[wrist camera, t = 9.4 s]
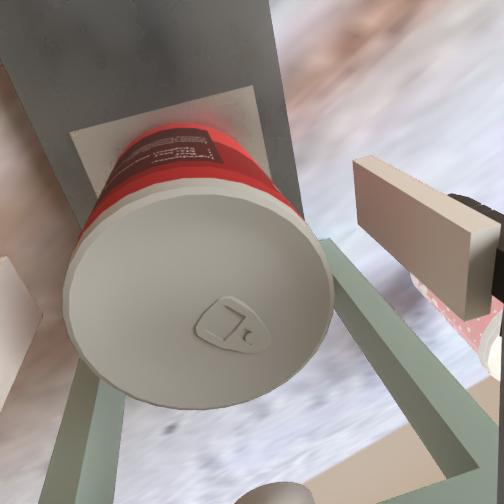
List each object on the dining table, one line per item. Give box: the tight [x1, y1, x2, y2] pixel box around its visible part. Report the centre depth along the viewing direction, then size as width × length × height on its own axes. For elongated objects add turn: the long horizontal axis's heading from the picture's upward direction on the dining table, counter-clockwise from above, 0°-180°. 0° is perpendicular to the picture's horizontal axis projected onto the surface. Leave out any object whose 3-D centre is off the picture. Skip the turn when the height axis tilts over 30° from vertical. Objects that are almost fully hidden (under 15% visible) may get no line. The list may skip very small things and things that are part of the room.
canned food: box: [63, 123, 335, 410], centre depth 16 cm, size 8×8×11 cm
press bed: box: [0, 0, 305, 230], centre depth 21 cm, size 20×12×2 cm, turn 14°
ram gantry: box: [38, 238, 499, 504], centre depth 18 cm, size 3×16×18 cm, turn 104°
